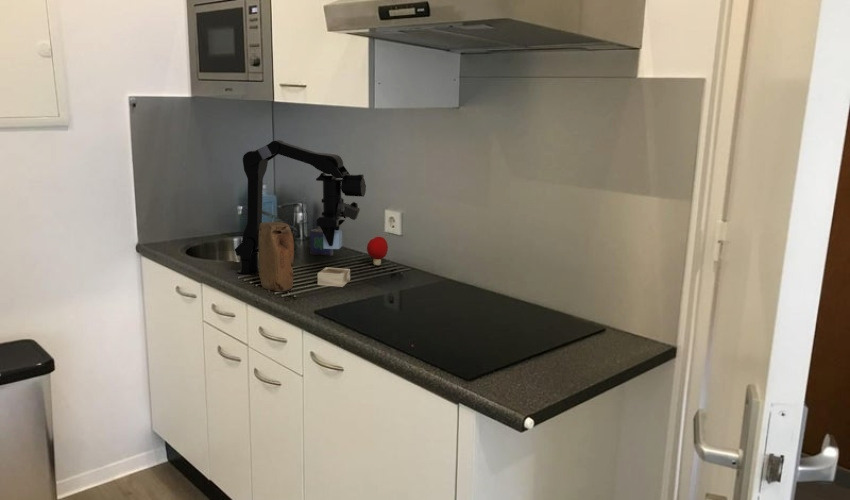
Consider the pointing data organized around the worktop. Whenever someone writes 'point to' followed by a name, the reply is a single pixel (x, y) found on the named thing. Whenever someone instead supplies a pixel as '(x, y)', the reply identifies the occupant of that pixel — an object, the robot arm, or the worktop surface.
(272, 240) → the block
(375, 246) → the red toy tree
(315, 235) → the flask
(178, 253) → the worktop surface
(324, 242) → the slate cube
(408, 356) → the worktop surface
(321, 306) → the worktop surface
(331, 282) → the beech base
